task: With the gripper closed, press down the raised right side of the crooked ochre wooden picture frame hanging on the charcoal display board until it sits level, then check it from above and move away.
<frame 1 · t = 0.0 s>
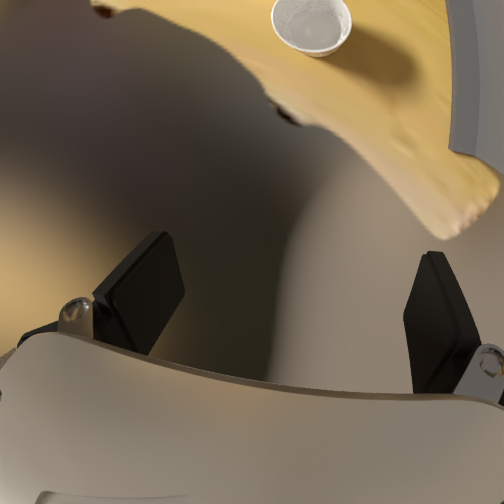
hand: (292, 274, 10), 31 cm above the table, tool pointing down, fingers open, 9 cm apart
white cup: (315, 35, 28), on the table
display board: (479, 51, 21), on the table
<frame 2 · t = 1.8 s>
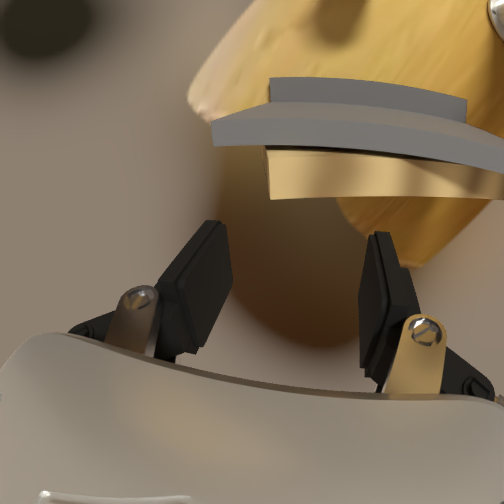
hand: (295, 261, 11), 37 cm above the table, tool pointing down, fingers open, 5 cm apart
display board: (373, 112, 37), on the table
picture frame: (377, 150, 26), point 16 cm above the table, hinge at -15.0°
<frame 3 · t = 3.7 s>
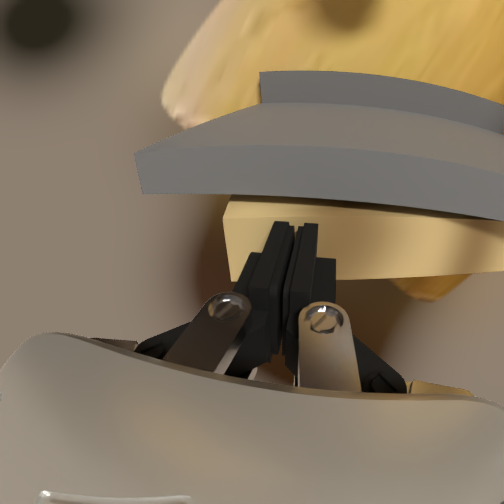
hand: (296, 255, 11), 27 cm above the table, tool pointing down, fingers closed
display board: (393, 116, 29), on the table
picture frame: (414, 180, 18), point 16 cm above the table, hinge at -10.4°, touching gripper
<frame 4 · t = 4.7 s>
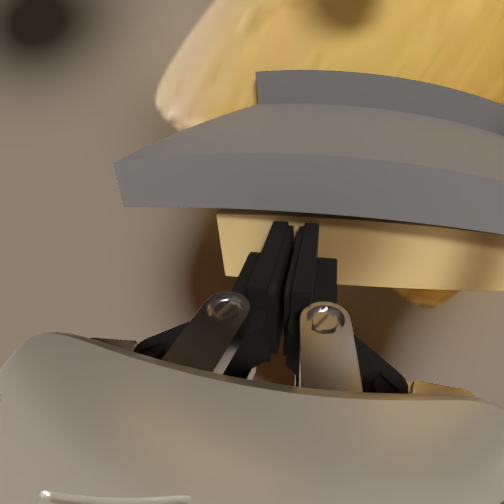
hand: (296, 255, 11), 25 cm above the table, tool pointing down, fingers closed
display board: (394, 117, 27), on the table
picture frame: (432, 188, 16), point 16 cm above the table, hinge at -2.2°, touching gripper
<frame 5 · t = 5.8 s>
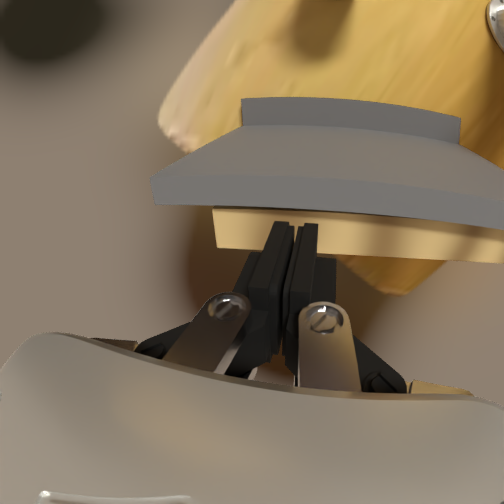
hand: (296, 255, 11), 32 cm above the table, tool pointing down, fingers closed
display board: (356, 133, 36), on the table
picture frame: (369, 190, 25), point 16 cm above the table, hinge at -2.1°
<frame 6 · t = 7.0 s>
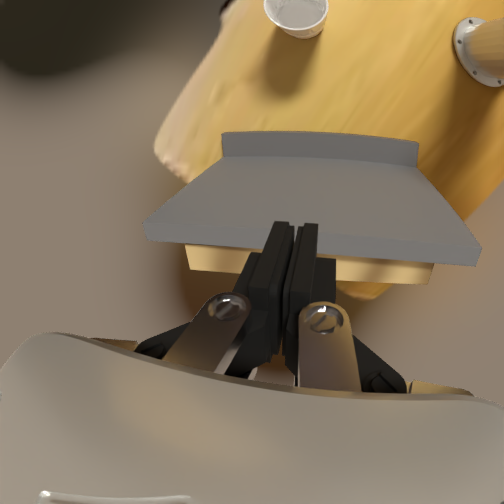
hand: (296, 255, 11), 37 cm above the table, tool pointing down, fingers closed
white cup: (302, 20, 32), on the table
display board: (320, 161, 44), on the table
picture frame: (313, 220, 33), point 16 cm above the table, hinge at -2.1°
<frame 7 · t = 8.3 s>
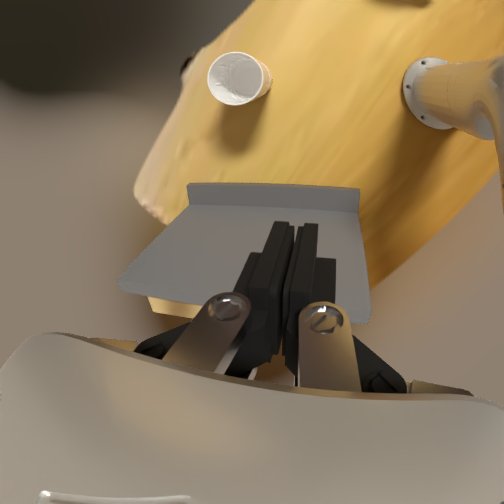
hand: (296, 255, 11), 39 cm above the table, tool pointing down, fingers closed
white cup: (252, 79, 41), on the table
display board: (271, 208, 53), on the table
picture frame: (249, 272, 42), point 16 cm above the table, hinge at -2.1°
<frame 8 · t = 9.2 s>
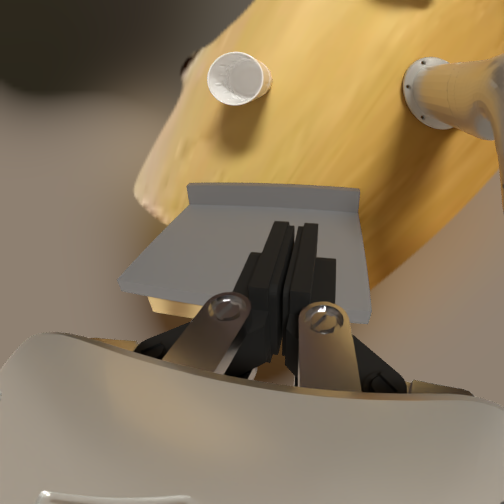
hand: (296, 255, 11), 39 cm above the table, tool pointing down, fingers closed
white cup: (252, 79, 41), on the table
display board: (271, 208, 53), on the table
picture frame: (249, 272, 42), point 16 cm above the table, hinge at -2.1°
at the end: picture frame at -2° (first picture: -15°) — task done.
